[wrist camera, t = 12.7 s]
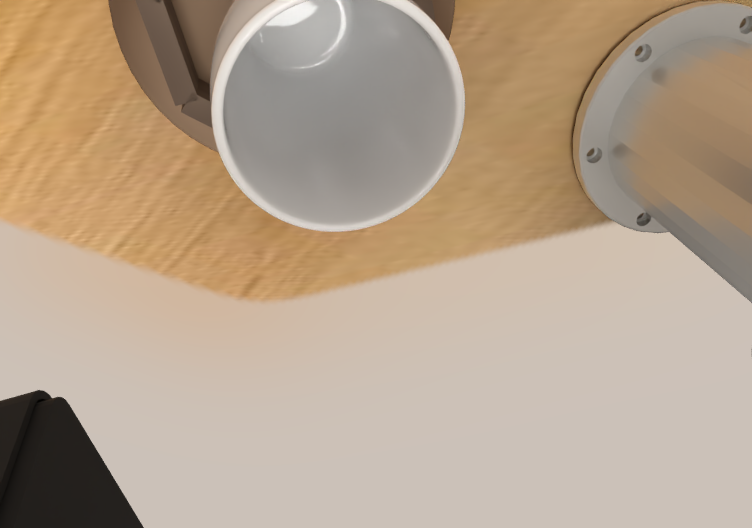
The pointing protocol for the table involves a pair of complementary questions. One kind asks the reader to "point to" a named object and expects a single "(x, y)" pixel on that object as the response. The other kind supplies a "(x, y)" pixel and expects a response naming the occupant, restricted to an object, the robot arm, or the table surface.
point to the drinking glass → (334, 107)
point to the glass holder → (191, 53)
